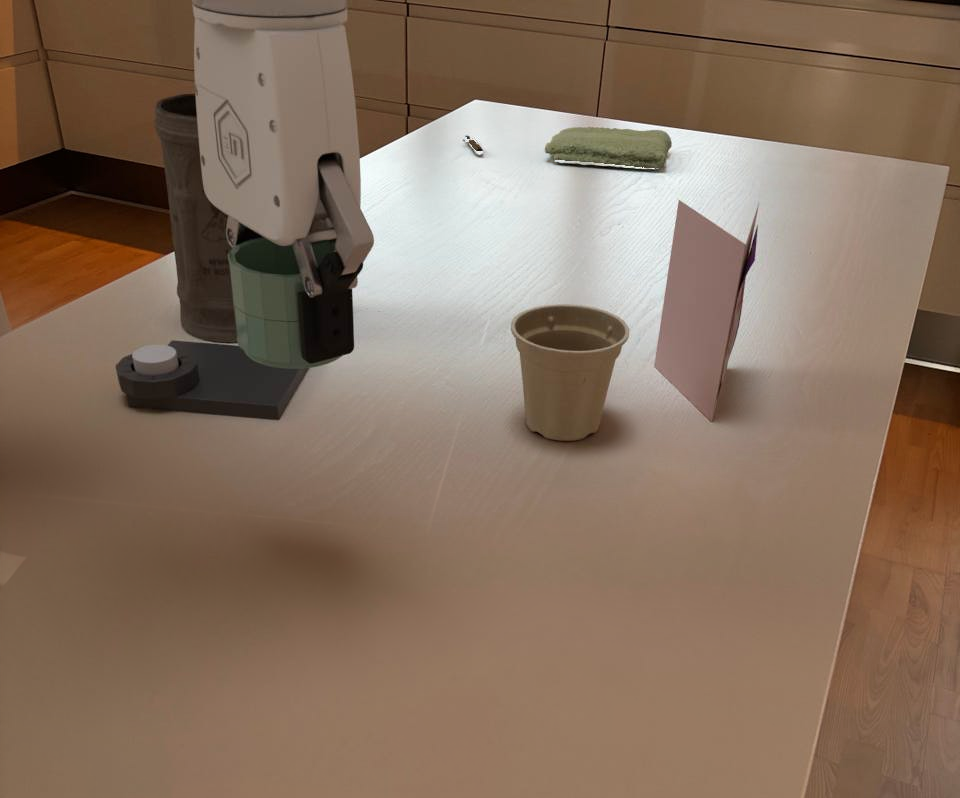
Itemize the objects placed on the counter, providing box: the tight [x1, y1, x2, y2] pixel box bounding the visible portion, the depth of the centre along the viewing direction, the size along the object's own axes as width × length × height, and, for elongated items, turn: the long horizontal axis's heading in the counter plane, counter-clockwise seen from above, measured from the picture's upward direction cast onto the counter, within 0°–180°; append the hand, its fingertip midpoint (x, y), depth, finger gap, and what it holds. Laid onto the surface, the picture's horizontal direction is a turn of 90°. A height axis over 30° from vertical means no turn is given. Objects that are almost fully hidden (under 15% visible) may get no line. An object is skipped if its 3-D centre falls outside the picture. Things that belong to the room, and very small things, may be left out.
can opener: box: [462, 135, 484, 152], centre depth 153 cm, size 9×2×1 cm, turn 8°
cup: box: [228, 237, 343, 369], centre depth 60 cm, size 7×7×6 cm
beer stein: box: [154, 93, 327, 343], centre depth 96 cm, size 15×11×20 cm
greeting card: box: [653, 199, 760, 422], centre depth 88 cm, size 11×7×15 cm, turn 163°
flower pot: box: [510, 303, 630, 442], centre depth 84 cm, size 9×9×9 cm
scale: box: [115, 339, 310, 421], centre depth 89 cm, size 14×12×3 cm
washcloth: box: [544, 126, 673, 169], centre depth 151 cm, size 13×18×3 cm
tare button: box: [131, 344, 179, 376], centre depth 86 cm, size 4×4×1 cm
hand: (294, 331), depth 61 cm, fingers closed on cup, 6 cm apart
